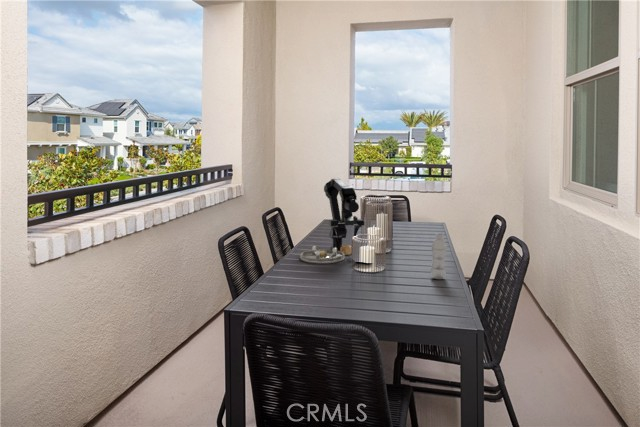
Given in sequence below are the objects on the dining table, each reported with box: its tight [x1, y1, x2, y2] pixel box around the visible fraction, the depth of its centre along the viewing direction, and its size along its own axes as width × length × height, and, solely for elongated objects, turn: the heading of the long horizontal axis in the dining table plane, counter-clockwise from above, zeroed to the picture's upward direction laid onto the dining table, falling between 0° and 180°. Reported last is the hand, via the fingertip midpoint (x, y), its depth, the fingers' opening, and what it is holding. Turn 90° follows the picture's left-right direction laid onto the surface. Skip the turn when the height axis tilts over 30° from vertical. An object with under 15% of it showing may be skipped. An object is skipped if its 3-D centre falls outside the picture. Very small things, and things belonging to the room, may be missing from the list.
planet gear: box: [339, 244, 352, 256], centre depth 264 cm, size 7×7×4 cm
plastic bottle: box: [430, 233, 448, 280], centre depth 213 cm, size 6×7×20 cm
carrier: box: [299, 245, 346, 265], centre depth 253 cm, size 23×23×5 cm
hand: (346, 238), depth 263 cm, fingers open, 9 cm apart
